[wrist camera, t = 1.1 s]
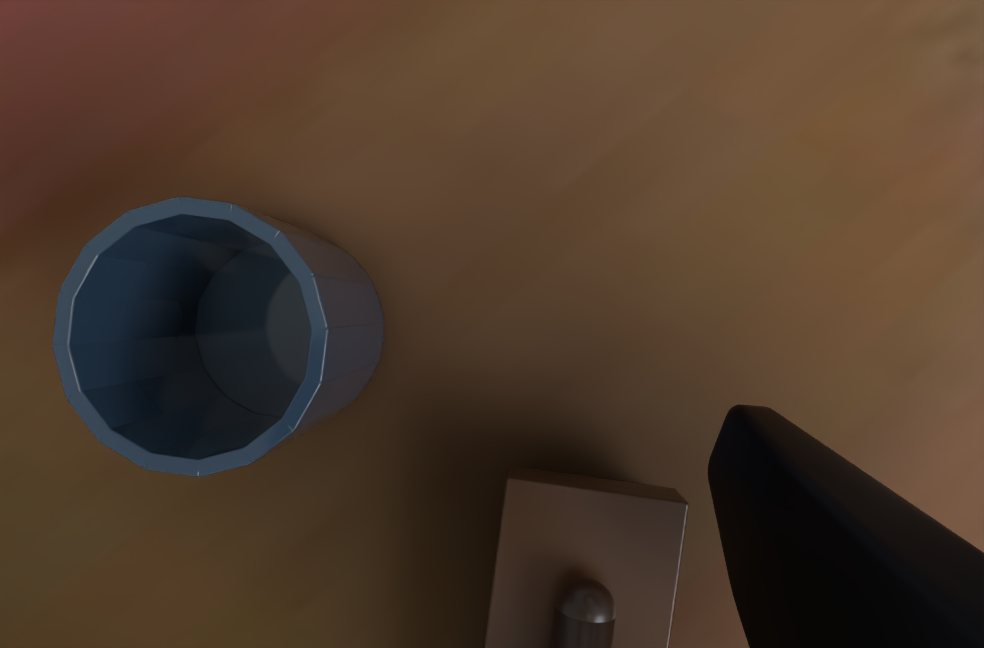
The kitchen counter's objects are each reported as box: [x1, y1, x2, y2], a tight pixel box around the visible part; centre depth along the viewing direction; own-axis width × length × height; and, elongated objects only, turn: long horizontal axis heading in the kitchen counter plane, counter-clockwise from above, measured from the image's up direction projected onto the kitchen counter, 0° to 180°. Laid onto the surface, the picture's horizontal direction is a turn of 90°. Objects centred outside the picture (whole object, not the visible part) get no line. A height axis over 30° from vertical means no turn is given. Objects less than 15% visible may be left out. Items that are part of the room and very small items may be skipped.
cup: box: [52, 196, 384, 477], centre depth 21 cm, size 6×6×8 cm
